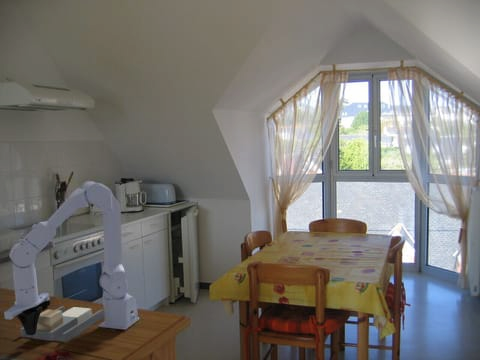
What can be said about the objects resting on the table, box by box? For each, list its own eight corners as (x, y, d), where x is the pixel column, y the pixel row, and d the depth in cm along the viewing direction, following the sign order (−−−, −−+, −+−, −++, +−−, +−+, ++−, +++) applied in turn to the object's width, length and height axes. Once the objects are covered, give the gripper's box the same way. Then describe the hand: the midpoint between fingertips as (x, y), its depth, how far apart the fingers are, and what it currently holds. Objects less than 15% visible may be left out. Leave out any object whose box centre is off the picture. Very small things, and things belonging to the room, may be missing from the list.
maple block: (63, 323, 140) (62, 310, 140) (51, 330, 135) (50, 317, 135) (49, 322, 142) (48, 309, 141) (37, 329, 137) (36, 315, 137)
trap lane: (104, 317, 150) (103, 309, 150) (65, 342, 133) (64, 334, 133) (62, 313, 155) (62, 305, 155) (20, 337, 138) (19, 328, 138)
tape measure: (51, 308, 161) (50, 297, 161) (29, 312, 158) (28, 301, 157) (48, 302, 167) (47, 291, 167) (27, 306, 164) (26, 295, 163)
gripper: (33, 277, 138) (38, 322, 140) (-7, 295, 125) (-1, 344, 126) (53, 279, 136) (58, 324, 137) (14, 296, 122) (19, 347, 124)
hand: (31, 334), depth 132 cm, fingers closed
